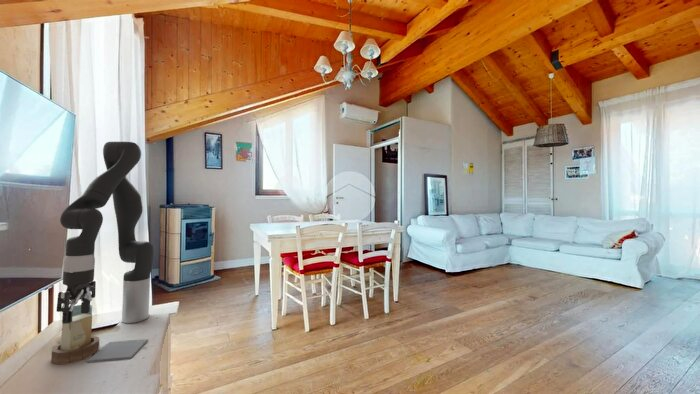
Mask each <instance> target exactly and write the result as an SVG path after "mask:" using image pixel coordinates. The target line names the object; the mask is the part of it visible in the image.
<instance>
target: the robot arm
mask: <svg viewBox="0 0 700 394" xmlns="http://www.w3.org/2000/svg"><path fill="white" fill-rule="evenodd" d="M102 156H103V160H104V164H105V167H106V171H104V172H103V173H101V174H99V175H98V176H96V177H95V178H94V179H93V180H92V181H91V182H90V183H89V185H88V186H87V187H86V189H85V190H84V192H83V193H82V195H81V196H79V197H78V198H77V199H75V200H74V201H73V202H71V204H69V205H68V206H67V207H66V208H64V209H63V211H62V213H61V215H60V220H59V221H60V222H59V223H60V225H61V226H62V227H63V228H64V229H67V230H81V232H80V234H79V235H78V236H77V235H76V236H73V237H70V238H67V240H66V243H65V256H64V261H63V270H62V271H63V273H62V285H65V286H66V290H65V291H59V292H58V294H57V302H56V312H57V313H58V312H59V313H62V317H61V318H62V319H61V324H62V323H63V324H67V323H71V322H72V315H73V311H72V310H73V307H74V306H76V305H78V303H79V301H81V304H80V305H81V313H82V314H83V313H89V312H90V305H91V302H92V301H93V299H94V298H96V289H97V288H96V281H95V268H96V267H95V264H96V261H95V260H96V259H95V258H96V257H95V245H96V239H97V238H98V235H99V232H100V230H101V227H102V225H103V221H104V216H103V214H102V212H101V211H100V210H99V209H102V208H103V207H105V206H106V205H107V203H108V201H109V200H110V198H111V197H112V202H113V207H114V214H115V218H116V227H117V235H118V237H117V239H118V241H117V242H118V254H119V258H120V260H121V261H122V262H125V263H127V264H128V263H129V264H130V263H132V264H134V268H133V269H132V270H128V271H126V272H125V273H124V274H123V280H122V283H123V285H122V304H121V305H122V308H121V310H122V311H121V323H123V324H134V323H139V322H142V321H145V320H147V319H148V318H149V317H150V316H149V315H150V313H149V312H150V291H151V290H150V288H151V285H150V283H151V273H152V270H153V266H154V265H153V262H154V245H153V244H152V243H151V242H150V241H145V240H144V241H143V240H142V241H141V240H139V241H138V240H136V234H135V233H136V232H135V231H136V226H137V224H138V222H139V220H140V218H141V216H142V214H143V202H142V196H141V194H140V192H139V191H138V189H137V187H136V186H134V184H132V182H131V181H130V180H129V178H128V177H127V175H128V174H129V173H130V172H131V171H132V170H133V169H134V168H135V167H136V165H137V164H138V163H139V162H140V160H141V157H142V151H141V147H140V146H139V145H138V143H135V142H133V141H107V142H106V143H104V144H103V147H102Z"/></svg>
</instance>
